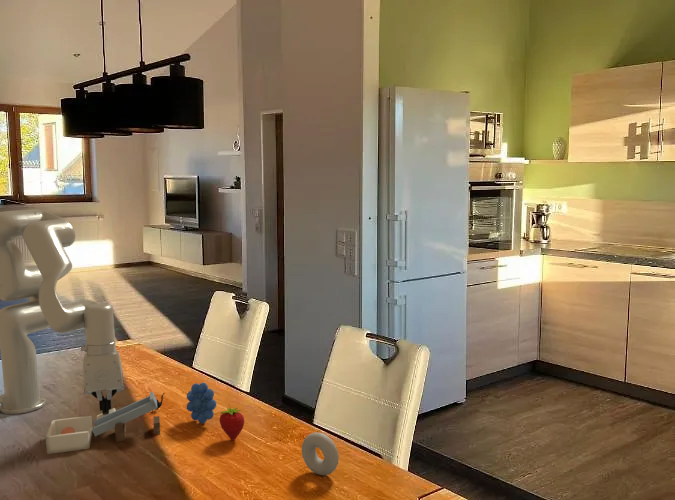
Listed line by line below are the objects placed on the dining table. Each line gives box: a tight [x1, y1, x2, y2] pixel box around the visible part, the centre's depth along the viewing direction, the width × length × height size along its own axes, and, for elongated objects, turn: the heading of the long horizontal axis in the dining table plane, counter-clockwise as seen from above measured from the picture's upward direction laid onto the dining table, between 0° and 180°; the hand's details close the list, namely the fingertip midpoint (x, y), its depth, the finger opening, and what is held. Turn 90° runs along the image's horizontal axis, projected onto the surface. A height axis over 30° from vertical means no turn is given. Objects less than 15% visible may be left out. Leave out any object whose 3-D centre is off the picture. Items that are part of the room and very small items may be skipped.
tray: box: [45, 415, 94, 455], centre depth 172 cm, size 10×12×4 cm
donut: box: [301, 431, 340, 476], centre depth 150 cm, size 10×4×10 cm, turn 54°
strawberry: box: [218, 404, 245, 441], centre depth 170 cm, size 6×8×10 cm
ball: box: [61, 427, 75, 434], centre depth 172 cm, size 4×4×4 cm
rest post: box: [152, 415, 161, 436], centre depth 178 cm, size 2×5×3 cm, turn 16°
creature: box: [145, 392, 165, 414], centre depth 193 cm, size 8×5×8 cm
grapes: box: [186, 382, 217, 425], centre depth 183 cm, size 12×7×12 cm, turn 52°
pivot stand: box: [114, 423, 127, 443], centre depth 175 cm, size 2×7×5 cm, turn 16°
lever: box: [92, 391, 158, 437], centre depth 178 cm, size 17×13×4 cm
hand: (105, 412), depth 182 cm, fingers closed
